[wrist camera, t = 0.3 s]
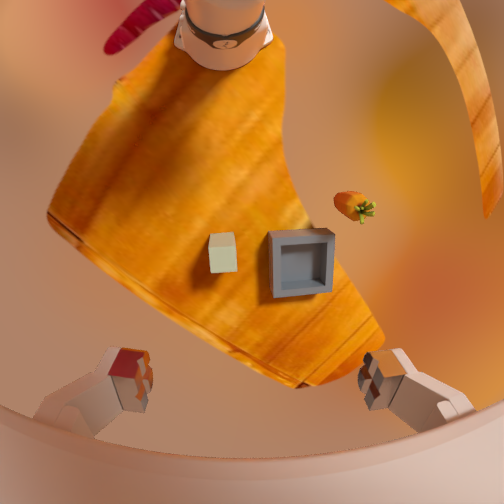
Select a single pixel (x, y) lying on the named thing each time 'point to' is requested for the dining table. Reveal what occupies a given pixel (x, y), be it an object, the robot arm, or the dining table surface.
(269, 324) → the dining table surface
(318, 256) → the gray open box
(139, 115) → the dining table surface
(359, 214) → the carrot
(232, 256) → the sage block
